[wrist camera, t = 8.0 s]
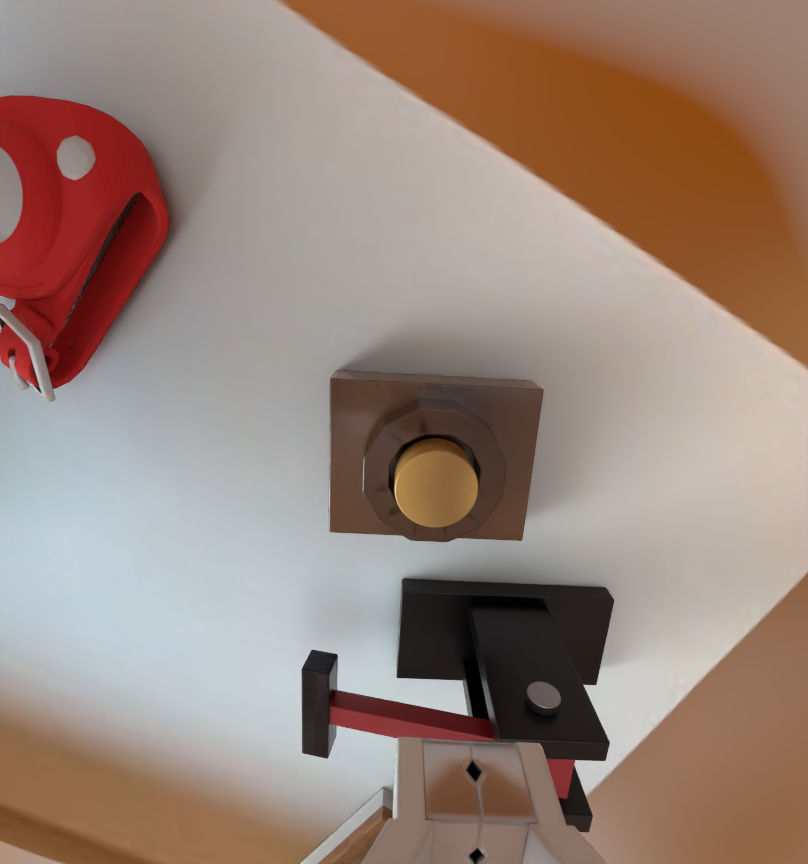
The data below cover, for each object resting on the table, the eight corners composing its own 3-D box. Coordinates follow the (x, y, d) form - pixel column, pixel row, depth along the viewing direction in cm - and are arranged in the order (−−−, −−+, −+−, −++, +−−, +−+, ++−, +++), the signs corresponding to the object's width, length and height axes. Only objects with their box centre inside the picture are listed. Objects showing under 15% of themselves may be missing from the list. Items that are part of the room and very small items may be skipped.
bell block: (334, 513, 27) (323, 551, 23) (336, 370, 25) (324, 385, 21) (512, 521, 27) (531, 560, 23) (531, 380, 25) (556, 398, 21)
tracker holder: (-119, 137, 20) (44, 11, 17) (-4, 175, 24) (143, 80, 21) (-22, 416, 21) (151, 344, 18) (74, 406, 25) (228, 347, 22)
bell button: (392, 508, 23) (392, 526, 21) (396, 435, 22) (396, 448, 20) (468, 511, 23) (474, 529, 21) (476, 439, 22) (482, 452, 20)
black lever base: (396, 663, 30) (396, 836, 21) (402, 578, 28) (404, 725, 19) (589, 670, 30) (674, 843, 21) (605, 587, 28) (708, 736, 19)
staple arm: (315, 721, 25) (297, 763, 23) (315, 640, 24) (296, 678, 21) (555, 771, 23) (562, 823, 21) (572, 687, 22) (580, 734, 19)
